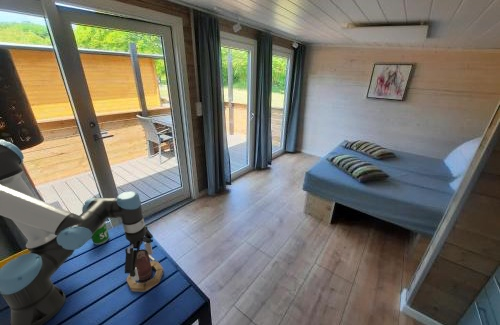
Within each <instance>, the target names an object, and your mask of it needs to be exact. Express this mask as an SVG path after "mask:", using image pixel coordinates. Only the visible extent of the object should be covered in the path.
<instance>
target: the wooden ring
mask: <svg viewBox="0 0 500 325" xmlns="http://www.w3.org/2000/svg"><path fill="white" fill-rule="evenodd" d="M150 263H151V268H152V269H153V270H155V274H154V276H153V277H151V279H150V280H148V281H147V282H137V280H132V279H131V276H130V273H128V276H127V278H126V283H127V285H128V288H129V289H130V291H131V292H137V293H138V292H140V293H141V292H142V293H143V292H144V293H145V292H147V291H149V290H151V289H152V288H154V287H155V286H156V285H158V284H159V283H160V282H161V279H162V277H163V275H164V268H163V266H162V265H161V263H160V262H159V261H156V260H155V261H153V260H150Z"/></svg>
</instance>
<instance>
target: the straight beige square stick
mask: <svg viewBox="0 0 500 325" xmlns="http://www.w3.org/2000/svg"><path fill="white" fill-rule="evenodd" d="M149 259H150V261H156V259H155V258H154V257H153V256H152V255H150V254H149Z"/></svg>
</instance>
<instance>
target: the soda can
mask: <svg viewBox="0 0 500 325" xmlns="http://www.w3.org/2000/svg"><path fill="white" fill-rule="evenodd" d="M108 230H109V229H108V227H107V225H106V221H105V222H104V223H103V224H102V225H101V226H100V227H99V229H98V230H97V231H96V232H95V233H94V234H93V235H92V237H91V238H90V239H91V241H92V244H95V245H102V244H105V243H106V242H107V241H108V240H109V238H110V235H109V231H108Z"/></svg>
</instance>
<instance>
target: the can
mask: <svg viewBox="0 0 500 325" xmlns="http://www.w3.org/2000/svg"><path fill="white" fill-rule="evenodd" d="M149 255H150V254H148V252H147V251H146V250H145V248H144V249H140V250H139V252H138V255H137V260H136V266H135V268H137V271H138V276H139V280H137V281H138V282H139V283H146V282H147V281H149V280H151V279H152V278H153V270H152V268H151V263H150V261H151V259H150V258H149Z"/></svg>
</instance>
